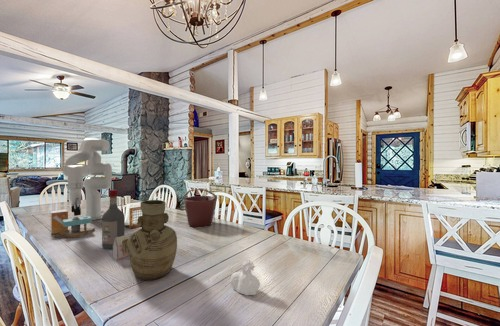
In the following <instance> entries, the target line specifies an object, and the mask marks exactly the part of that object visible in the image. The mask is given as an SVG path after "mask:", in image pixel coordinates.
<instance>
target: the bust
mask: <svg viewBox="0 0 500 326" xmlns="http://www.w3.org/2000/svg"><path fill="white" fill-rule="evenodd" d="M239 263H240V266H241V267H240V269H241V271H236V272H233V273H231V277H230V286H231V288H232V289H234V290H235V292H237V293H240V294H241V295H244V296H255V295H257V294H258V291H259V288H260V286H261V283H260V280H259V278H258V277H257V276H256V275H254V274H252V271H254V269H255V267H256V266H255V265H254V262H253V261H251V260H245V261H243V262H242V261H240V262H239Z"/></svg>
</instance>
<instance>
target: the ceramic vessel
mask: <svg viewBox="0 0 500 326" xmlns="http://www.w3.org/2000/svg"><path fill="white" fill-rule="evenodd" d="M139 205H140V210H141V216H138V218H137V220H136V222H137V226H138V227H141V228H140V229H138V230H136V231H134V232H133V233H132V234H131V235H130V237H129V239H126V240H123V241H122V245H123V246H122V252H123V253H125V252H127V256H128V257H127V258H128V260H129V262H130V267H131V268H130V269H131V271H132V272H133V274H134V276H136V277H137V278H138V279H140V280H142V281H153V280H158V279H161V278H162V277H165V276H166V275H168V273H169V272H170V270H171V269H172V267H173V265H174V262H175V259H176V254H177V248H178V237H177V233H176V230H175V229H173V228H172V227H171V226H169V225H166V224H168V222H169V214H168V213H167V212H165V210H166V201H164V200H161V199H147V200H142V201H140V204H139Z"/></svg>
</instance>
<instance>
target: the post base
mask: <svg viewBox="0 0 500 326" xmlns="http://www.w3.org/2000/svg"><path fill="white" fill-rule="evenodd" d="M78 218H79V217H78V216H74V217H73V218H72V219H73V220H78ZM94 231H96V228H95V227H87V224H83V227H81V225H74V226H70V228H68V230H66V231H64V232H61V233H55V235H54V238H58V239H59V238H61V239H63V238H64V239H66V238H69V239H70V238H71V239H80V238H81V237H84V236H86V235H88V234H90V233H92V232H94Z"/></svg>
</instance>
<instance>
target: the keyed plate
mask: <svg viewBox="0 0 500 326" xmlns="http://www.w3.org/2000/svg"><path fill="white" fill-rule="evenodd" d="M84 224H86V225H87V224H92V220H91V217H90V216H87V217H86V216H83V217H82V216H80V217H78V220H73V218H68V219H66V220H63V226H64V227H68V228H69V227H71V226H74V225H80V226H81V225H84Z"/></svg>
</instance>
